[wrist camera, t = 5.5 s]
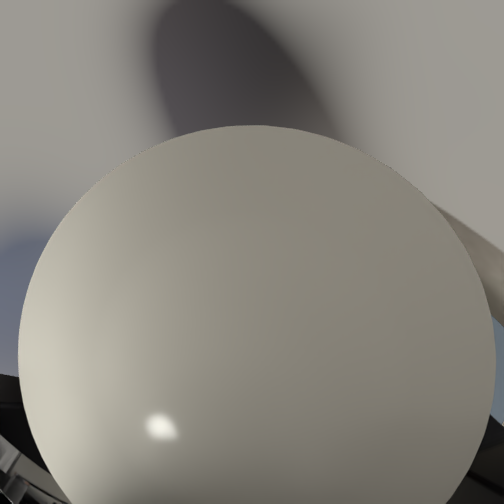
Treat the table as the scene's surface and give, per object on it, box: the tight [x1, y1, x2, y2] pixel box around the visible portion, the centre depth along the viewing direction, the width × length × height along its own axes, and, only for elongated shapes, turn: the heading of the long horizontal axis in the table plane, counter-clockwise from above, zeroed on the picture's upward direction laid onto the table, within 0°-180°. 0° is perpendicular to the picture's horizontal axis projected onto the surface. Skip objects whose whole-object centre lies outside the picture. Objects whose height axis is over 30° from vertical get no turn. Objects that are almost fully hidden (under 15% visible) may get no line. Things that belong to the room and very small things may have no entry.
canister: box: [18, 125, 496, 504], centre depth 8 cm, size 6×6×13 cm
